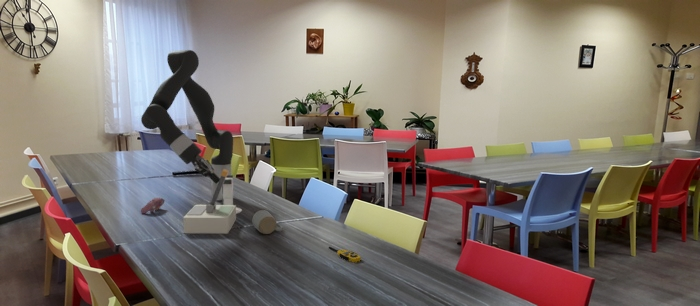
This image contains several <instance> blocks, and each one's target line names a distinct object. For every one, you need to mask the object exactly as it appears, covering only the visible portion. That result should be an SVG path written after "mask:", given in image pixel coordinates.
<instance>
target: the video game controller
mask: <svg viewBox="0 0 700 306" xmlns="http://www.w3.org/2000/svg"><path fill="white" fill-rule="evenodd" d="M164 203H165V199H164V198H162V197H155V198H153V199H151V200H149V201H148V202H147V203H146V204H145V205H144V206H143V207H142V208H140V213H141V214H146V213H149V212H150V213H154V211H158V210H159V209H160V208H161V207H162V206H163V205H164Z"/></svg>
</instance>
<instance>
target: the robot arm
mask: <svg viewBox="0 0 700 306" xmlns="http://www.w3.org/2000/svg"><path fill="white" fill-rule="evenodd" d="M166 58H167V59H166V61H167V63H168V67H169V69H170V71H171V73H172V75H171V76H169V77H168V78H167V79H165V80H164V81H163V82H162V83H161V84H160V85H159V87H158V88H157V90H156V91H155V93H154V95H153V97H152V100H151V101H150V103H149V104H148V106H147V107H146V109H145V110H144V111H143V114H142V115H141V118H140V119H141V124H142V125H143V127H144V128H145V129H148V130H154V129H155V130H156V129H157V128H158V129H159V131H160V133H159V137H160V138H161V139H162V140H163V142H164V143H166V144H167V145H168V147H170V149H171V150H172V152H174V154H175V155H177V156H178V157H179V159H180V160H182V162H184V164H186V165H189V164H190V163H191V164H192V165H193V167H194V170H195V172H197V173H199V174H201V176H202V175H203V176H204V177H206V178H209V179H210V180H211V181H210V182H211V185H210V186H211V187H210V188H211V199H212V198H213V195H214V193H215V190H216V188H217V185H218V183H219V180H220V177H221V173H222V171H223V170H224V169H226V170H228V171H229V173H228V175H232V159H233V155H234V154H233V153H234V149H233V148H234V136H233V134H232V132H231V131H229V130H225V129H224V130H222V129H217V127H216V125H215V123H214V119H213V118H214V115H215V114H214V113H215V104H214V102H213V99H212V97H211V95H210V94H209V92H208V91H207V89H205V88H204V87H203V86H202V85H200V84H199V83H197V82H196V81H195V80H194V79H193V78H192V76H193V75H194V73H195V72H196V71H197V69H198V68H199V61H200V60H199V57H198V54H197V53H196V52H195V51H193V50H191V49H183V50H172V51H170V52H169V53H168V54H167V57H166ZM181 90H182V91H183V92H184V95H185V97H186V98H187V100H188V102H189V105H190V108H192V111H193V112H194V114H195V116H196V118H197V120H198V122H199V124H200V127H201V129H202V131H203V135H204V138H205V140H206V143H207V145H208V146H209V147H210V148H211V149H213V150H219V153H218V155H215V156H212V157H211V159H210V161H209V160H208V159H206V158H205V157H202V156H201V155H200V154H202V149H201V148H200V147H199V146H198V145H197V144H196V143H195V142H194V141H193V140H192V139H191V138H190V137H189V136H187V135H186V134H185V132H183V131H182V130H181V129H180V128H179V127H178V126H177V125H176V123H175V121H174V120H173V118H172V117H171V115H170V113H169V112H168V111H169V108H171V106H172V105H173V103H174V101H175V99H176V97H177V96H178V94H179V92H180V91H181ZM222 199H223V193H222V189H221V191H220V194H219V197H218V199H217V201H222Z"/></svg>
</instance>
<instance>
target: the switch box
mask: <svg viewBox="0 0 700 306" xmlns="http://www.w3.org/2000/svg"><path fill="white" fill-rule="evenodd" d="M211 201H212V200H211ZM211 201H209V202H208V204H195V205H194V206H193V207H192V208H191V209H190V210H189V211H188V212H187V213H186V214H185V215H184V216H183V221H182V222H183V224H182V225H183V234H229V232H230V231H231V229H232V227H233V226H234V224H235V222H236V220H237V214H236V207H237V204H233V205H223V204H217V203H216V204H215V207H214V209H213V205H210V203H211Z"/></svg>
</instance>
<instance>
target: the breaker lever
mask: <svg viewBox="0 0 700 306" xmlns="http://www.w3.org/2000/svg"><path fill="white" fill-rule="evenodd" d="M228 173H229V171H228V170H226V169H224V170H223V171H222V173H221V177H220V180H219V183H218V185H217V188H216V190H215V193H214V195H213V198H212V197H211V203H210V205H213V209H214V207H215V204H216V205H217V201H218V200H217V199H218V197H219V194H220V191H221V189H222V186H223V184H224V181H225V179H226V176H227V175H228Z"/></svg>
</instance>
